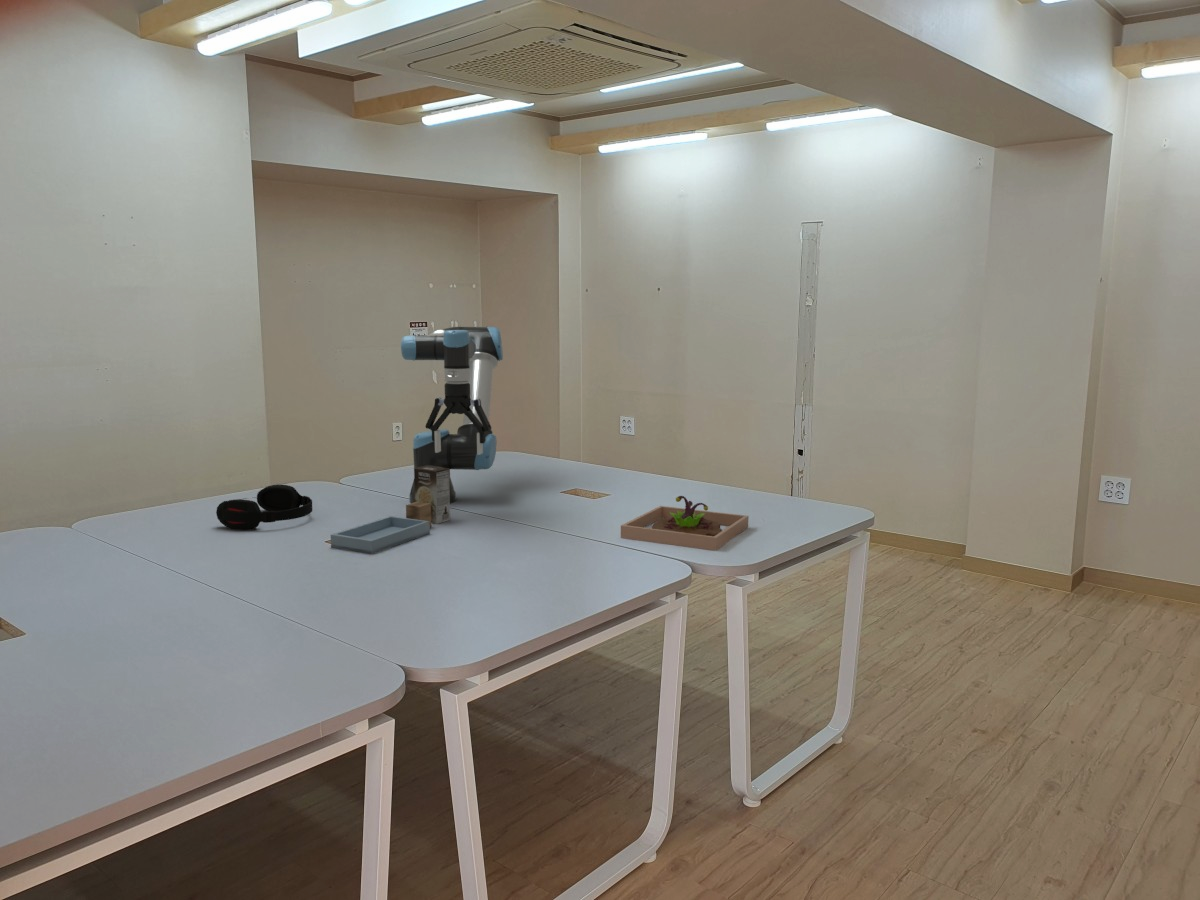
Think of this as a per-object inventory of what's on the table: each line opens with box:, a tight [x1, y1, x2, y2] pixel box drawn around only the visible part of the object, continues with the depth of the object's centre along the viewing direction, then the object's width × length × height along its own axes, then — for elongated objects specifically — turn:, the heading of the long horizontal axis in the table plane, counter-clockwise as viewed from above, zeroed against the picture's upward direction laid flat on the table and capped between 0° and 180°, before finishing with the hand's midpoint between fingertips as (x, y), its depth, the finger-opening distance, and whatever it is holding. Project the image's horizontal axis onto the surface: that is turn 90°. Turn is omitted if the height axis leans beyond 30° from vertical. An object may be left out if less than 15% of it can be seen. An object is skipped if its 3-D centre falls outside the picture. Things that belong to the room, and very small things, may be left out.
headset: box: [215, 484, 313, 531], centre depth 262 cm, size 28×26×9 cm
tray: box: [330, 515, 431, 555], centre depth 240 cm, size 14×24×4 cm, turn 153°
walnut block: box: [405, 502, 432, 528], centre depth 253 cm, size 5×5×7 cm
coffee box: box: [413, 465, 451, 525], centre depth 262 cm, size 9×6×16 cm
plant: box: [651, 495, 722, 536], centre depth 248 cm, size 20×20×11 cm
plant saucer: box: [620, 505, 749, 551], centre depth 249 cm, size 28×28×4 cm
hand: (458, 453), depth 263 cm, fingers open, 13 cm apart
